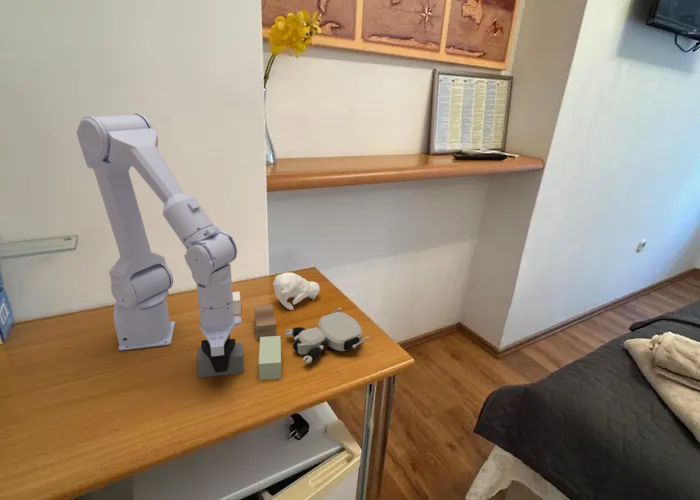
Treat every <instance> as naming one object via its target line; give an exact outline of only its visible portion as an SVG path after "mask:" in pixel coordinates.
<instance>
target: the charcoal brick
mask: <svg viewBox="0 0 700 500" xmlns="http://www.w3.org/2000/svg"><path fill="white" fill-rule="evenodd" d="M244 354H245V353H244V342H235V347H234V349H233V350H232V352H231V354H230V358H229V365H228V370H227V371H224V372H217V373H216V372H215V370H214V368H213V366H212V363H211V361H210V359H209V357H208V356H207V355H206V354H205V353H204V352H203V351H202V349H201V345H200V346H198V351H197V355H196V356H197V357H196V368H197V376H198V378H199V379H200V378H208V377H210V378H211V377H219V376H229V375H235V374H237V375H238V374H244V372H245V355H244Z"/></svg>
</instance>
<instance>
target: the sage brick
mask: <svg viewBox="0 0 700 500" xmlns="http://www.w3.org/2000/svg"><path fill="white" fill-rule="evenodd" d="M281 343H282V342H281V335H276V336H269V337H260V341H259V350H258V352H259V353H258V380H259V381H266V380H267V381H269V380H281V379H282V351H281V350H282V349H281V347H282V345H281Z"/></svg>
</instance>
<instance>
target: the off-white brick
mask: <svg viewBox="0 0 700 500" xmlns="http://www.w3.org/2000/svg"><path fill="white" fill-rule="evenodd" d="M232 293H233V308H234V316H236V315H237V316H238V315H242V307H241V295H240V294H241V291H232Z"/></svg>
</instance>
